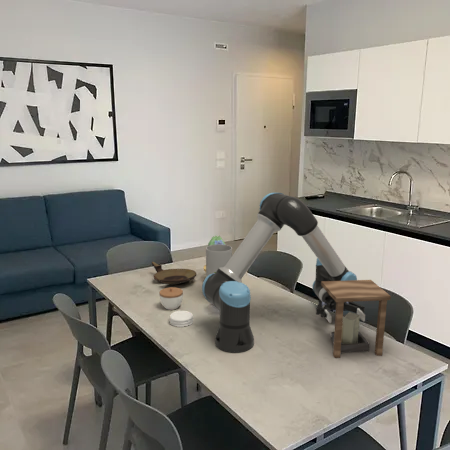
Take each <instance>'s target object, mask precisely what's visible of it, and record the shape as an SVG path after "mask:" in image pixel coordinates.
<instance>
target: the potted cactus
mask: <svg viewBox="0 0 450 450" xmlns="http://www.w3.org/2000/svg"><path fill="white" fill-rule="evenodd" d="M216 244H222V245H226V242H225V241H224V239H223V238H222V237H221V236H220V235H214V236H212V237H211V238H210V240H209V242H208V245H207V246H210V245H216ZM203 271H204V272H205V273H206V264H205V265H203Z"/></svg>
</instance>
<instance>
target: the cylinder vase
mask: <svg viewBox="0 0 450 450" xmlns="http://www.w3.org/2000/svg"><path fill="white" fill-rule="evenodd" d="M232 255H233V247H232V246H231V245H227V244H225V245H222V244H216V245H210V246H208V245H207V246H205V265H206V272H205V278H206V277H207V276H208V275H210V274H213V273H214V272H216V271H217V270H218V269H219V268H221V267H224V266H225V265H226V264H227V262H228V261H229V260H230V258H231V257H232Z"/></svg>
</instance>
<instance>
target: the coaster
mask: <svg viewBox="0 0 450 450" xmlns="http://www.w3.org/2000/svg"><path fill="white" fill-rule="evenodd" d="M193 323H194V314H193V313H192V312H191V311H187V310H176V311H173V312H171V313H170V315H169V324H170V325H171V326H172V327H175V326H177V328H185V327H184V326H186V327H189V326H191V325H192V324H193ZM188 325H189V326H188Z"/></svg>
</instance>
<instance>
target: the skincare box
mask: <svg viewBox="0 0 450 450" xmlns="http://www.w3.org/2000/svg"><path fill="white" fill-rule="evenodd" d="M359 328H360V315H358V314H357V313H354V312H351V311H349V312H347V313H346V314H345V315H343V322H342V337H341V342H342V343H343V344H351V343H359V342H358V331H359V330H360V329H359Z"/></svg>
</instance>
